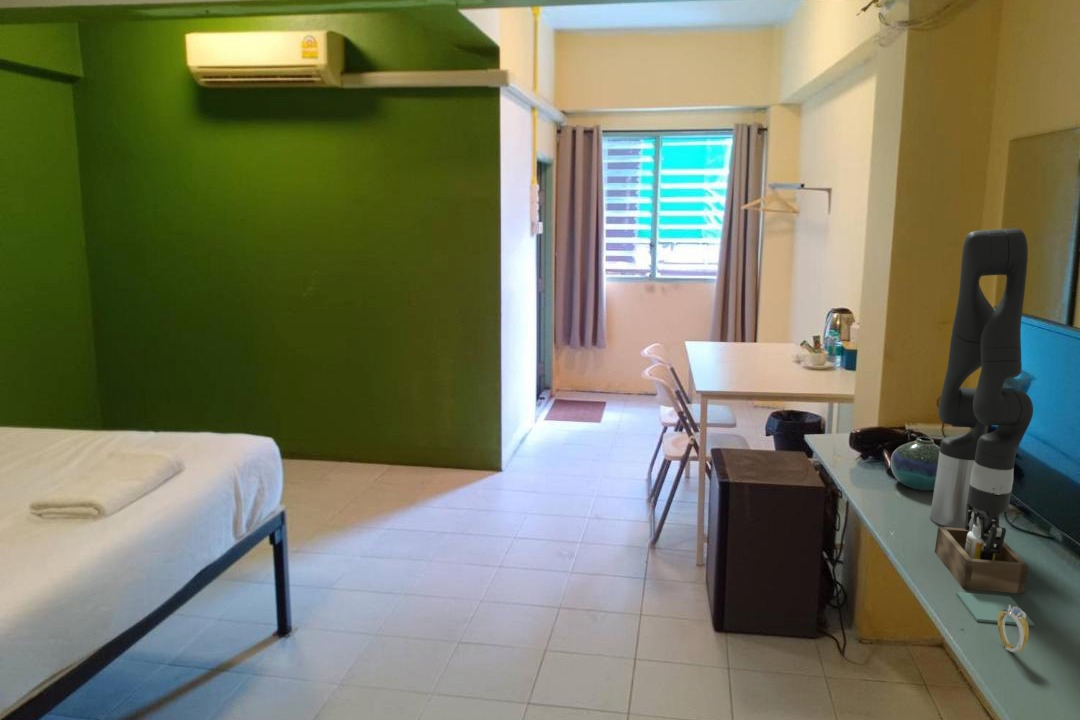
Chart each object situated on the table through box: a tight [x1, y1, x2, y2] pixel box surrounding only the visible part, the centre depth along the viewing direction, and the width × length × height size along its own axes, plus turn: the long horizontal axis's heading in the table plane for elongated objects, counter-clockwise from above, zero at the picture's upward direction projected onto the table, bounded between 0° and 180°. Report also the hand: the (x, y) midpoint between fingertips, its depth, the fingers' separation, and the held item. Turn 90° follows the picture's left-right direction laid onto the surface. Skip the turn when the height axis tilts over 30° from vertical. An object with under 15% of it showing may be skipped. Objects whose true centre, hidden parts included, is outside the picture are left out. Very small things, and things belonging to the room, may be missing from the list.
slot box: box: [934, 526, 1029, 594], centre depth 166 cm, size 16×11×6 cm
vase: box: [890, 436, 940, 491], centre depth 212 cm, size 15×15×13 cm
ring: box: [997, 605, 1030, 653], centre depth 137 cm, size 7×3×8 cm, turn 175°
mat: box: [955, 591, 1035, 627], centre depth 151 cm, size 10×10×1 cm
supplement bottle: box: [965, 523, 997, 561], centre depth 165 cm, size 6×6×10 cm
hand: (978, 560), depth 166 cm, fingers closed on supplement bottle, 5 cm apart
